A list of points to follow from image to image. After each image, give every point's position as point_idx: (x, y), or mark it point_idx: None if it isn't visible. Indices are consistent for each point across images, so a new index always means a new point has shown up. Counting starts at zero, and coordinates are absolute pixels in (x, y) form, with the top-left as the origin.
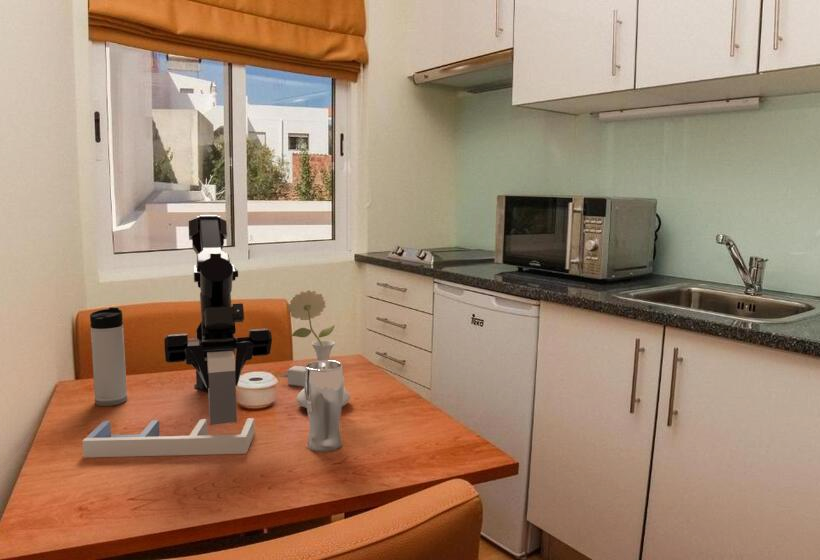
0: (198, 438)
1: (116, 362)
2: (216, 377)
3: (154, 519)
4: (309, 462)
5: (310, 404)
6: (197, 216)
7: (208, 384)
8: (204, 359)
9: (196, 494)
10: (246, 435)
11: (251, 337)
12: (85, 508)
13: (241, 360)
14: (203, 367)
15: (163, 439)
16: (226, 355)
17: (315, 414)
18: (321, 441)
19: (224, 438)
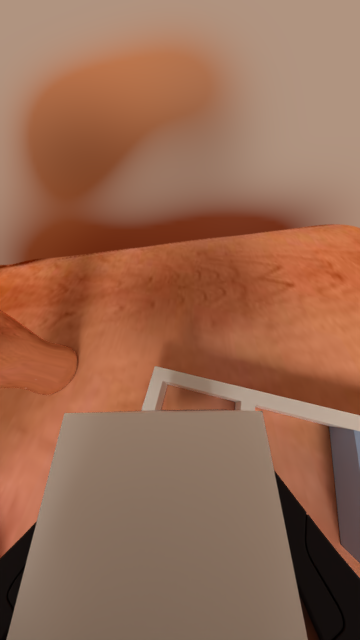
0: (235, 385)
1: None
2: (200, 410)
3: (253, 249)
4: (94, 323)
5: (17, 327)
6: None
7: None
8: (319, 627)
9: (221, 280)
10: (153, 373)
11: None
12: (333, 275)
13: (21, 548)
14: (287, 518)
15: (304, 402)
16: (107, 499)
17: (29, 330)
18: (58, 344)
19: (189, 374)
